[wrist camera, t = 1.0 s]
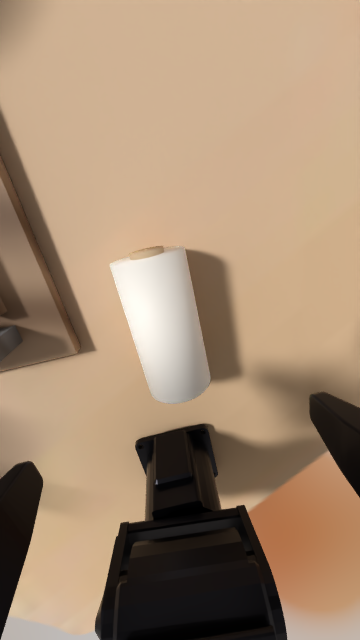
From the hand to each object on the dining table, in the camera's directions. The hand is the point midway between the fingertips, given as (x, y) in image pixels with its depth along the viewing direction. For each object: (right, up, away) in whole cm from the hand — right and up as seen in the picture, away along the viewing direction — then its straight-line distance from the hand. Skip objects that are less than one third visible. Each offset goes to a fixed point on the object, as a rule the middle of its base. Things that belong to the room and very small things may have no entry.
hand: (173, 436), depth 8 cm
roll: (-1, +4, +10) cm, 11 cm away
